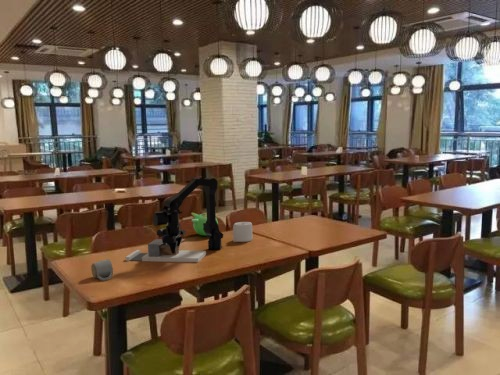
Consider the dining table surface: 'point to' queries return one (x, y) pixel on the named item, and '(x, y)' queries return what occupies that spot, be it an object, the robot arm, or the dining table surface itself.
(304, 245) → the dining table surface
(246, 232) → the toilet tissue
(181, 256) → the platform
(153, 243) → the tunnel
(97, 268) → the ceramic mug
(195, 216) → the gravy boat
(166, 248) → the walnut bar
